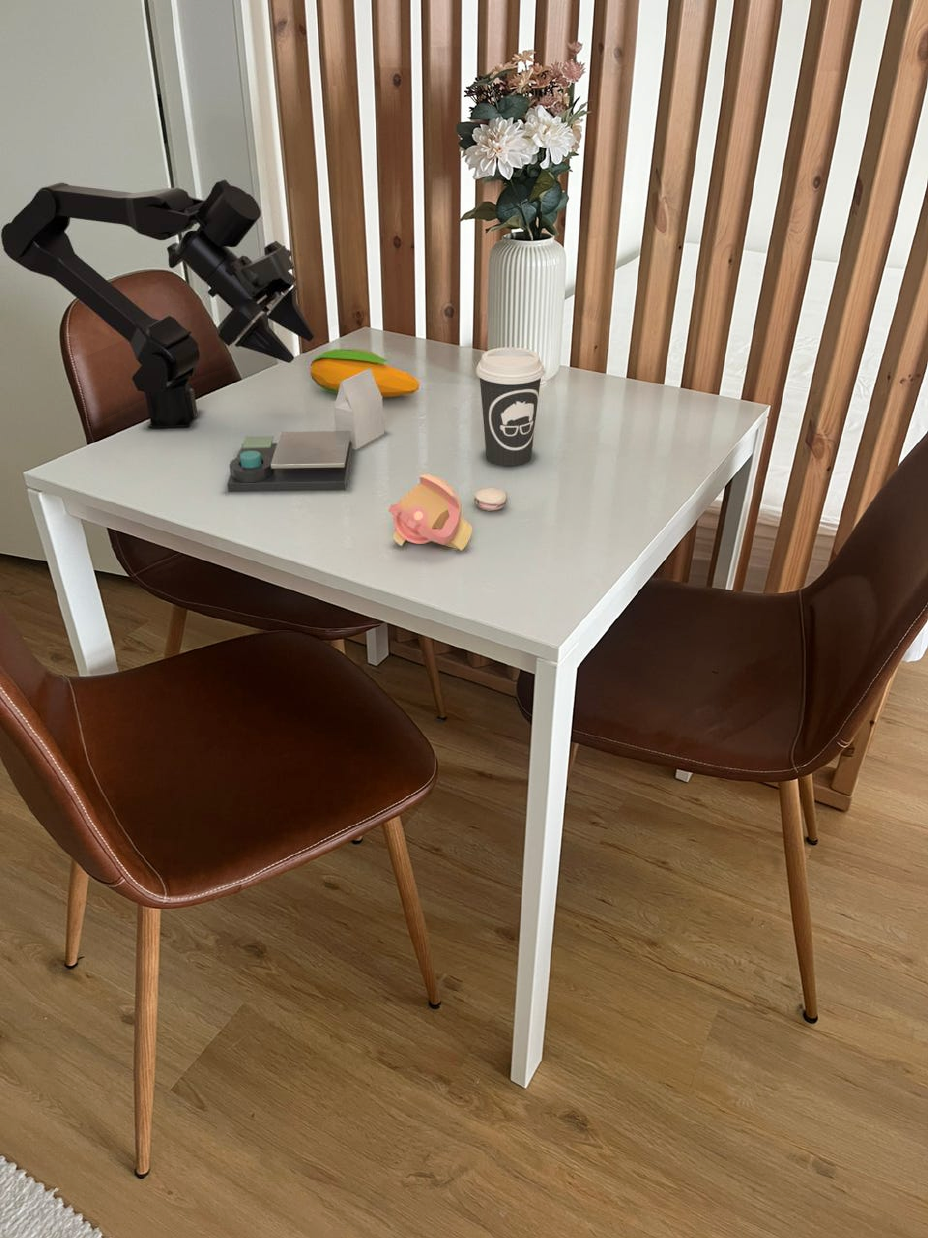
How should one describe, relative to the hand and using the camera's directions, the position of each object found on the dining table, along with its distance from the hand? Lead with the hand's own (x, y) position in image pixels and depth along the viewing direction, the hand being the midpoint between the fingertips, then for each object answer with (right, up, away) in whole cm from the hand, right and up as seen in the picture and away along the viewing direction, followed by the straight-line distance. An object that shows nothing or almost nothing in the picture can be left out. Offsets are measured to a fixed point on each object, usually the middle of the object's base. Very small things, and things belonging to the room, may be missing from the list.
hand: (302, 349), depth 145 cm
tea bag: (+8, -12, +6) cm, 16 cm away
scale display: (-6, -14, -2) cm, 15 cm away
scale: (-1, -18, -2) cm, 18 cm away
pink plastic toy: (+20, -30, -20) cm, 41 cm away
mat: (+3, +4, +30) cm, 31 cm away
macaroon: (+27, -24, -11) cm, 38 cm away
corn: (+7, -2, +20) cm, 22 cm away
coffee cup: (+30, -16, +1) cm, 34 cm away
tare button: (-6, -18, -7) cm, 20 cm away
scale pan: (+2, -15, -4) cm, 16 cm away
